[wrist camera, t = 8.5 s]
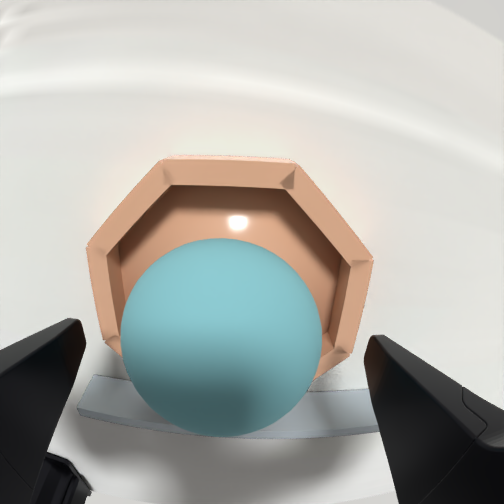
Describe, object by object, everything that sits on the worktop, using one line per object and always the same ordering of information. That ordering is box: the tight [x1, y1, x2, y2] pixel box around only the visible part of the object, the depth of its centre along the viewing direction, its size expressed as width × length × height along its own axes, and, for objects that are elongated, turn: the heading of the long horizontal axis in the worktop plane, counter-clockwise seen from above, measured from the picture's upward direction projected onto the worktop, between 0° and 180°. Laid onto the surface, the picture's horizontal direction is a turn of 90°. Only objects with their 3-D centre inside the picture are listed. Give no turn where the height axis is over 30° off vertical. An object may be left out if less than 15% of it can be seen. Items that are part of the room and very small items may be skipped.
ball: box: [121, 238, 322, 437], centre depth 9 cm, size 6×6×6 cm
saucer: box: [86, 155, 374, 381], centre depth 12 cm, size 10×10×2 cm
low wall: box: [77, 375, 380, 439], centre depth 14 cm, size 18×1×2 cm, turn 87°
